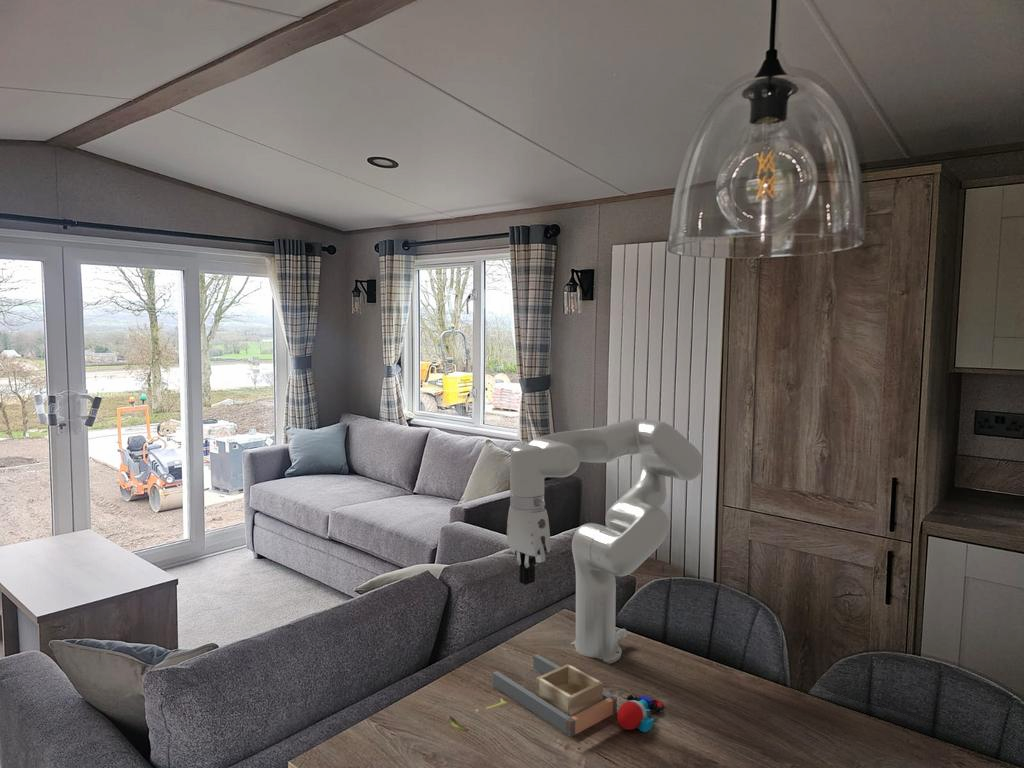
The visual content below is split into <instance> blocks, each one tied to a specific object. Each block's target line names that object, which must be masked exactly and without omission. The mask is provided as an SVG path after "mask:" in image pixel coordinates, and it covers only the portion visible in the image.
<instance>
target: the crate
mask: <svg viewBox="0 0 1024 768" xmlns="http://www.w3.org/2000/svg"><path fill="white" fill-rule="evenodd" d="M535 683H536V684H535V685H536V689H535V690H536V694H535V695H536V696H538V697H539V698H541V699H543V700H544V701H546V702H547V703H549V704H551V705H552V706H554V707H555V708H557V709H559V710H560V711H562V712H563V713H565V714H567V715H568V716H570V717H572V716H574V715H576V714H578V713H580V712H582V711H584V710H586V709H588V708H590V707H592V706H594V705H595V704H597V703H599V702H601V701H603V691H604V682H603V681H600V680H599V679H597V678H595V677H594V676H591V675H589V674H588V673H586V672H583V671H582V670H580V669H578V668H576V667H575V666H572V665H571V664H569V663H566V664H563V666H560V668H558V669H555V670H553V671H551V672H549V673H546V674H542V675H540V676H537V677H536V682H535Z"/></svg>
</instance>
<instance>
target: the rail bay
mask: <svg viewBox="0 0 1024 768" xmlns="http://www.w3.org/2000/svg"><path fill="white" fill-rule="evenodd" d="M532 658H533V663H532V664H533V665H532V667H533V669H534V670H536V671H538V672H539V673H541V674H542V675H544V674H546V673H549V672H551V671H553V670H555V669H558V668H560V667H561V666H559V665H558V664H556V663H554V662H552V661H551V660H549V659H547V658H546V657H544V656H542V655H540V654H538V653H537V654H533V657H532ZM492 687H494V688H495V689H497V690H499V691H500V692H501V693H503V694H504V695H506V696H508V698H511V699H512V700H514V701H515V702H517V703H518V704H519V705H521V706H523V707H524V708H525V709H527V710H529V711H531V712H532V713H534V714H535V715H536V716H537V717H539V718H541V719H542V720H544V721H545V722H547V723H549V724H550V725H552V726H553V727H555V728H556V729H557V730H558V731H561V732H562V733H564V734H565V735H566V736H568V737H569V738H572V737H574V736H576V735H577V734H579V733H581V732H583V731H585V730H587V729H588V728H590V727H592V726H594V725H596V724H598V723H600V722H601V721H603V720H605V719H607V718H609V717H610V716H612V715H614V714H616V713H618V708H617V707H618V701H617V700H618V698H617V697H615V696H614V695H612V694H610V693H608V692H607V691H604V690H603V701H601V702H599V703H597V704H595V705H594V706H592V707H590V708H588V709H586V710H584V711H582V712H580V713H578V714H576V715H574V716H572V717H570V716H568V715H567V714H565V713H563V712H562V711H560V710H559V709H557V708H555V707H554V706H552V705H551V704H549V703H547V702H546V701H544V700H543V699H541V698H539V697H538V696H536V694H535V693H533V692H531V691H530V690H529V689H527V688H525V687H524V686H522V685H520V684H518V683H517V681H514V680H512V679H511V678H510V677H507V676H506V675H504V674H502V673H501V672H499V671H498V670H495V671H494V672H492Z"/></svg>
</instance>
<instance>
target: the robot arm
mask: <svg viewBox="0 0 1024 768" xmlns="http://www.w3.org/2000/svg"><path fill="white" fill-rule="evenodd" d="M638 454H641V455H640V466H639V467H640V469H639V476H638V479H637V481H636V482H635V483H634V484H633V486H632V487H631V488H630V489H628V491H627V492H625V493H624V494H623V495H622V496H621V497H620V498H619V499H618V500H616V501H615V502H614V503H613V504H612V506H610V507H609V509H608V510H607V512H606V514H605V524H606V526H605V525H602V524H598V523H595V522H594V523H593V522H588V523H584V524H582V525H580V526H579V527H577V529H576V530H575V532H574V533H573V536H572V541H571V552H572V556H573V557H572V558H573V562H574V569H575V639H574V640H573V641H572V642H571V643H570V645H572V646H574V647H575V650H576V652H577V653H578V654H580V655H582V656H584V657H587V658H592V659H599V660H601V661H603V662H605V663H607V664H609V665H611V664H614V663H616V662H617V661H619V659H621V657H622V648H621V646H620V645H619V644H618V642H619V641H620V639H623V638H625V637H627V636H628V631H627V629H626V628H621V629H619V630H617V631H616V602H617V601H616V598H617V597H616V593H617V591H616V590H617V589H616V588H617V584H616V583H617V582H616V578H615V576H618V577H625V576H628V575H630V574H632V573H633V572H634V571H636V570H637V569H638V568H639V567H640V566H641V565H643V563H644V562H645V561H647V559H648V558H650V556H651V555H652V554H653V553H654V552H655V551H656V550H657V549H658V548H659V547H660V546H661V544H663V542H664V541H665V539H666V537H667V536H668V532H669V528H670V521H669V520H670V519H669V517H668V514H667V513H666V512H665V510H663V509H662V507H663V506H664V504H665V502H666V500H667V487H666V477H667V478H670V479H671V478H672V479H676V480H679V481H680V480H681V481H685V482H687V481H693V480H695V479H696V478H698V477H699V476H700V475H701V472H702V469H703V466H704V461H703V457H702V454H701V452H700V451H699V450H698V448H697V447H696V446H695V445H694V444H693V443H692V442H691V441H690V440H688V439H687V438H686V437H685V436H684V435H683V434H681V433H680V431H678V430H677V429H676V428H675V427H673V426H671V425H670V424H669V423H666V422H665V421H660V420H653V419H646V418H640V417H639V418H638V417H637V418H632V419H627V420H622V421H619V422H615V423H611V424H608V425H607V424H606V425H603V426H598V427H593V428H591V427H590V428H584V429H575V430H564V431H560V432H559V431H558V432H553V433H550V434H545V435H542V436H538V437H536V438H534V439H532V440H531V441H529V442H528V443H527V444H520V445H515V446H513V447H512V448H511V450H510V453H509V469H510V470H509V484H510V485H509V492H510V493H509V497H510V498H509V501H510V502H509V504H510V505H509V509H508V515H507V523H506V524H507V525H506V538H507V539H506V542H507V545H508V547H509V550H510V552H511V553H513V554H514V555H515V557H516V561H517V564H518V566H519V569H518V570H519V583H520V584H522V585H524V586H526V585H530V584H532V583H534V582H536V581H535V580H536V566H537V565H538V563H544V562H545V561H546V554H549V553H550V551H551V533H550V522H549V516H548V512H547V510H548V509H546V508H545V506H546V501H545V479H546V478H566V477H569V476H571V475H573V474H574V473H576V471H577V470H578V469H579V466H580V464H581V462H583V463H591V464H592V463H593V464H602V463H603V464H605V463H610V462H611V463H612V462H614V461H617V460H619V459H624V458H627V457H630V456H634V455H638Z"/></svg>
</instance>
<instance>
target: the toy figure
mask: <svg viewBox="0 0 1024 768" xmlns="http://www.w3.org/2000/svg"><path fill="white" fill-rule="evenodd" d="M626 700H627V701H625V702H623V703H622V704H621V705H620V707H619V708H618V709H617V712H616V713H617V715H616V720H617V723H618V724H619V726H620V727H621V728H622V729H624V730H626V731H627V730H628V731H630V730H631V731H632V730H635V729H638V730H639V731H640V732H642V733H647V732H649V731H651V729H652V728H653V726H654V717H651V718H649V717H650V716H649V715H650V714H652V713H654V712H656V713H660V712H661V711H662V710H663V707H664V703H663V702H661V701H659V700H656V699H654V698H652V697H649V696H646V695H644V694H641V695H640V696H639V698H638V696H634V695H633V694H628V695H627V697H626Z"/></svg>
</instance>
